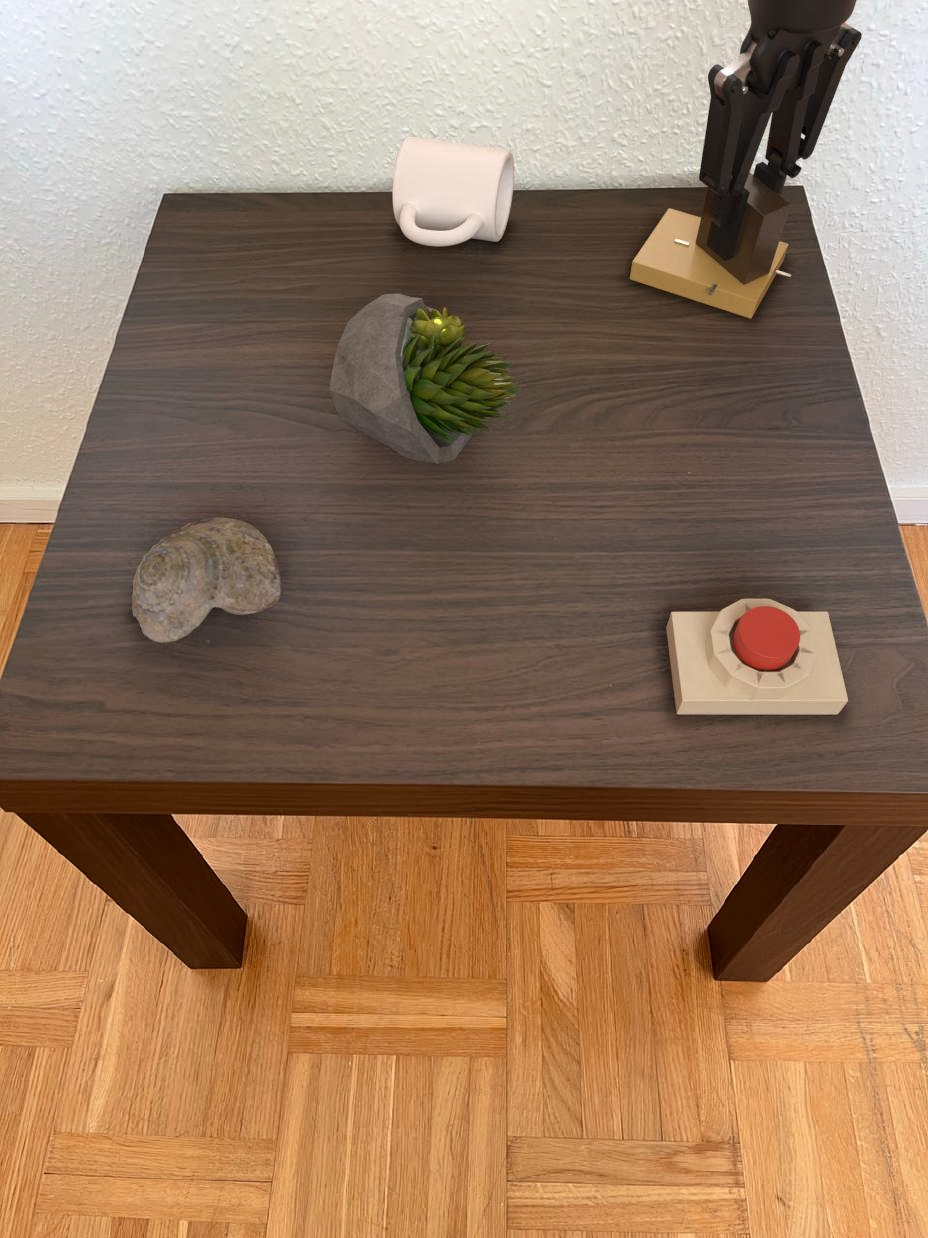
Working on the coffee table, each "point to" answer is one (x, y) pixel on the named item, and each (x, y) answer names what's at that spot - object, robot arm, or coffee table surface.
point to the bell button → (766, 638)
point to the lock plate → (697, 268)
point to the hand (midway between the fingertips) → (735, 243)
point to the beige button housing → (731, 686)
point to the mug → (451, 191)
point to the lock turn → (750, 231)
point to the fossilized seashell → (203, 577)
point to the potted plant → (416, 379)
